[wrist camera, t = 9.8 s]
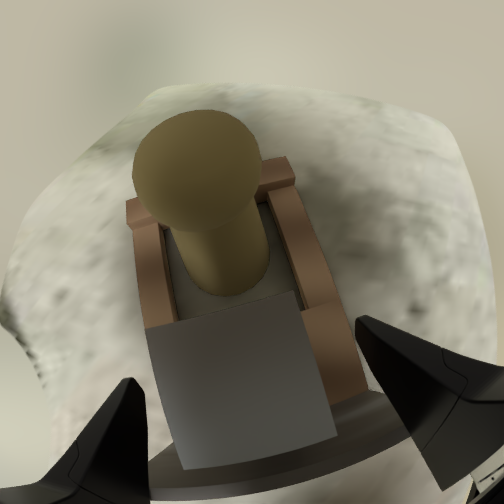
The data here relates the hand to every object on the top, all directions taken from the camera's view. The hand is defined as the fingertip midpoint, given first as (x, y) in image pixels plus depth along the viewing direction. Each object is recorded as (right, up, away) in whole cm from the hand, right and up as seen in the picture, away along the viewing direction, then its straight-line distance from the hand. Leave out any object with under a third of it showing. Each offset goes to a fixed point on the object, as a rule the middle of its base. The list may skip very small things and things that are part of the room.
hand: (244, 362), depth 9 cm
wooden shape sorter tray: (-1, 0, +8) cm, 8 cm away
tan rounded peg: (-1, +4, +10) cm, 11 cm away
